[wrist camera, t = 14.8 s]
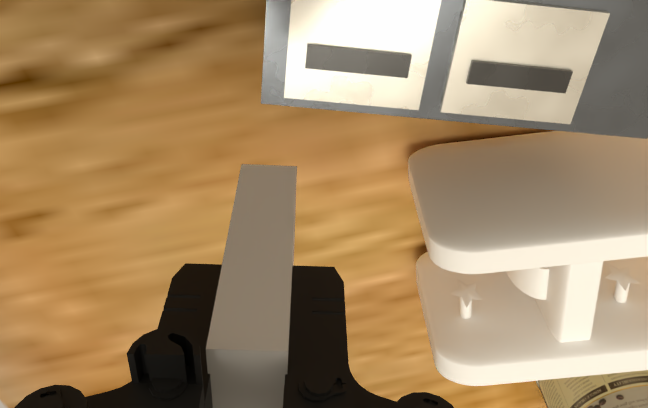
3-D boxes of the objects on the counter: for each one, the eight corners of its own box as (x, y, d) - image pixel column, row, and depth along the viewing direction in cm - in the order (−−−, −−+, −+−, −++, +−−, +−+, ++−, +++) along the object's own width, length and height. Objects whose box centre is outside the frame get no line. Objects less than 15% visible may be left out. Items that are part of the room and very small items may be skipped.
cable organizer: (644, 112, 38) (762, 217, 28) (620, 247, 43) (710, 374, 33) (402, 140, 38) (434, 252, 29) (409, 270, 44) (438, 400, 34)
